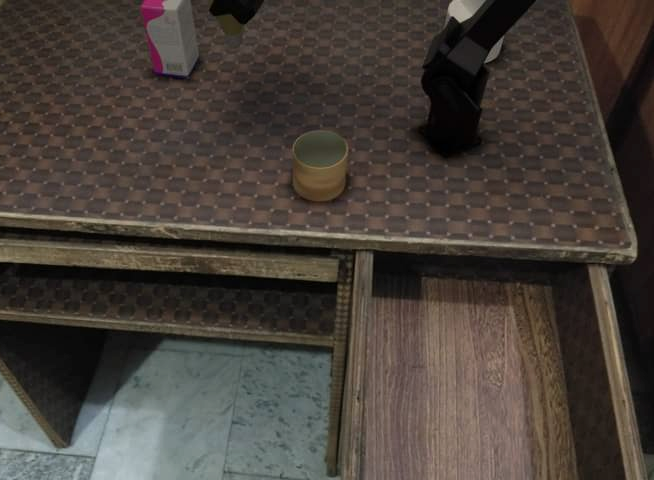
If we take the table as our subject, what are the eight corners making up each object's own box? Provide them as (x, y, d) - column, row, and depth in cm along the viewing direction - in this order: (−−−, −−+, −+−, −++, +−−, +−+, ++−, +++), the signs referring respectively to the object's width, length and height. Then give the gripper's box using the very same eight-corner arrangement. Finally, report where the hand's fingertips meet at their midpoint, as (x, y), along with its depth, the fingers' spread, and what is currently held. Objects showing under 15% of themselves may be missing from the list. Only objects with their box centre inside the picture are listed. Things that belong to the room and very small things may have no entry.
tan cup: (355, 190, 84) (358, 156, 79) (307, 208, 82) (308, 175, 77) (329, 157, 87) (331, 123, 82) (284, 174, 86) (283, 140, 81)
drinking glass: (431, 36, 101) (445, -39, 91) (483, 25, 102) (503, -52, 92) (456, 69, 96) (473, -7, 86) (511, 57, 97) (534, -20, 87)
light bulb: (258, 54, 88) (252, -17, 80) (219, 61, 88) (209, -8, 79) (250, 31, 91) (243, -38, 83) (212, 39, 91) (202, -31, 83)
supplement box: (200, 57, 102) (190, -12, 93) (188, 79, 99) (176, 11, 90) (167, 53, 103) (153, -16, 94) (154, 75, 100) (138, 7, 91)
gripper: (275, -174, 74) (203, -83, 86) (212, -100, 64) (141, -9, 76) (338, -95, 78) (262, -19, 90) (288, -15, 69) (209, 59, 81)
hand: (220, 0), depth 84 cm, fingers closed on light bulb, 5 cm apart
